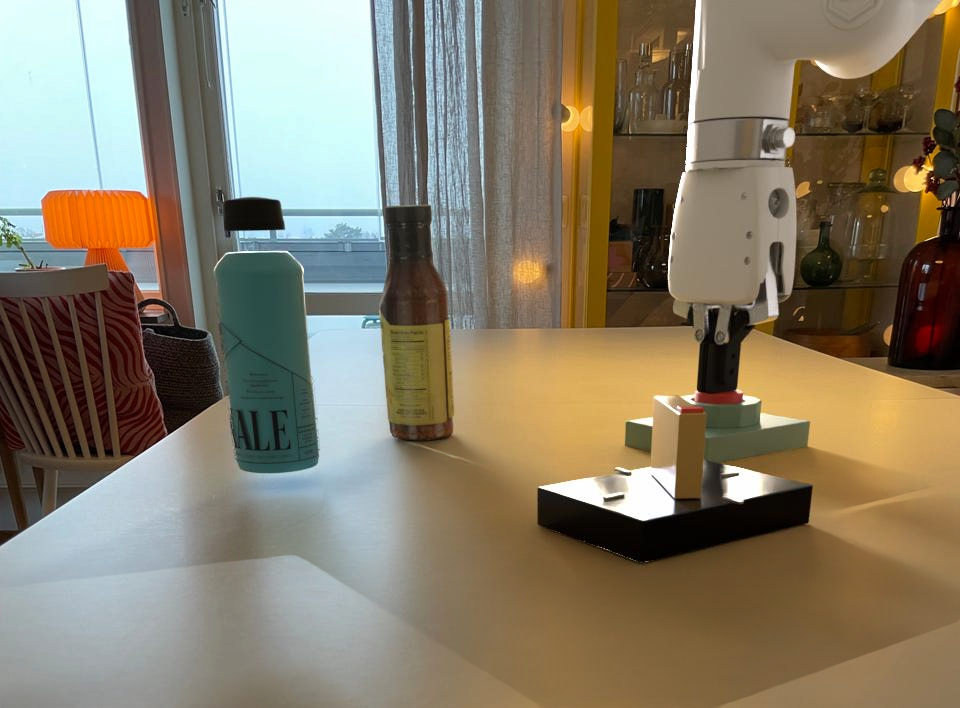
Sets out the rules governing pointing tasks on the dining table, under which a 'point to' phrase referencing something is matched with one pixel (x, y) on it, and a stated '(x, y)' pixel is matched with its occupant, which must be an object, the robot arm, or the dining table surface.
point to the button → (719, 397)
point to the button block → (732, 431)
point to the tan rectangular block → (678, 446)
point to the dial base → (672, 510)
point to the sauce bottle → (415, 331)
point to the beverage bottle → (266, 347)
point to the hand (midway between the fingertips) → (716, 390)
